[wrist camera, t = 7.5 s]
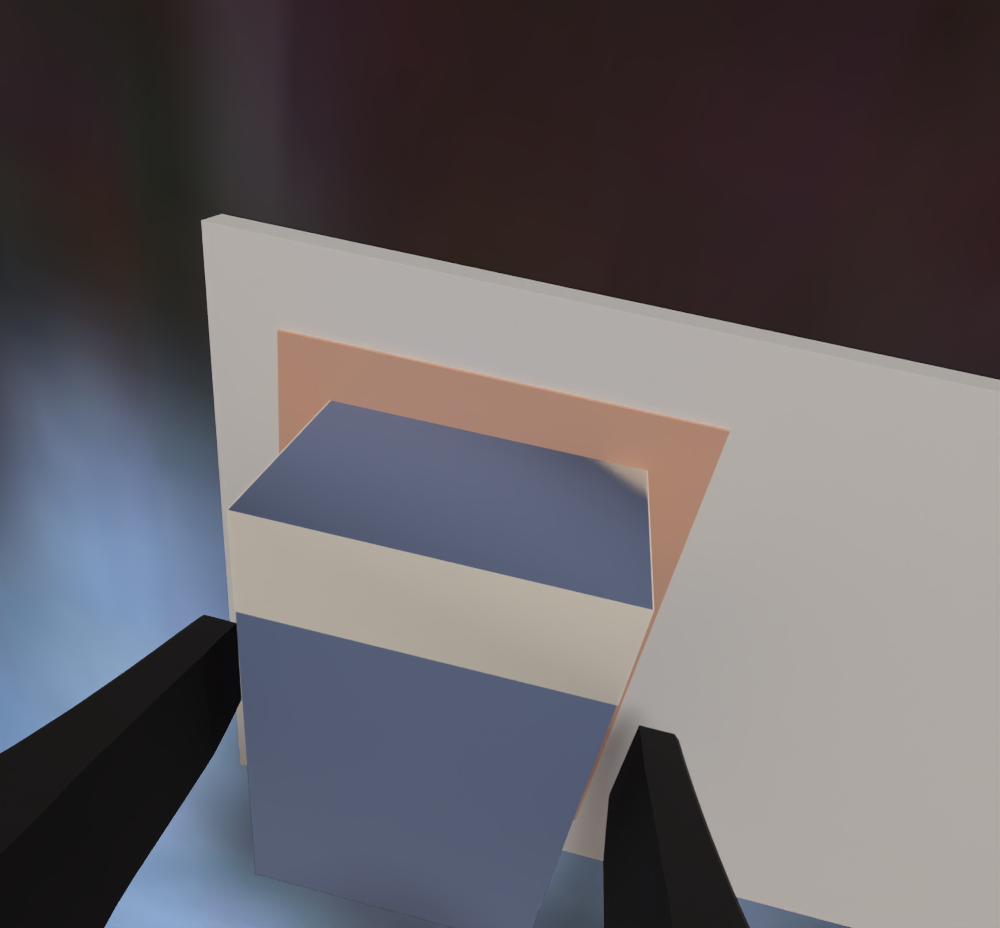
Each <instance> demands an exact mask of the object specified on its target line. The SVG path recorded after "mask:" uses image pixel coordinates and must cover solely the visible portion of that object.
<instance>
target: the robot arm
mask: <svg viewBox="0 0 1000 928" xmlns="http://www.w3.org/2000/svg"><path fill="white" fill-rule="evenodd" d="M241 700H242V698H241V682H240V667H239V651H238V636H237V623H234V622H230V621H226V620H222V619H219V618H215V617H211V616H207V615H203V616H201V617H200V618H198V619H197V620H195V621H194V622H192V623H191V624H190V625H188V626H187V627H186V628H184V629H183V630H181V631H180V632H179V633H177V634H176V635H175V636H173V637H172V638H171V639H169V640H168V641H167V642H165V643H164V644H162V645H161V646H160V647H158V648H157V649H156V650H154V651H153V652H152V653H150V654H149V655H147V656H146V657H145V658H143V659H142V660H140V661H139V662H138V663H136V664H135V665H134V666H132V667H131V668H129V669H128V670H127V671H125V672H124V673H122V674H121V675H119V676H118V677H117V678H115V679H114V680H112V681H111V682H109V683H108V684H107V685H105V686H104V687H102V688H101V689H99V690H98V691H96V692H95V693H94V694H92V695H91V696H89V697H88V698H86V699H85V700H83V701H82V702H80V703H79V704H78V705H76V706H75V707H73V708H72V709H70V710H69V711H67V712H65V713H64V714H62V715H61V716H59V717H58V718H56V719H54V720H53V721H51V722H50V723H48V724H47V725H45V726H44V727H42V728H40V729H39V730H37V731H36V732H34V733H33V734H31V735H30V736H28V737H26V738H25V739H23V740H22V741H20V742H19V743H17V744H15V745H14V746H12V747H10V748H9V749H7V750H5V751H4V752H2V753H0V928H104V927H105V925H106V923H107V922H108V920H109V918H110V916H111V914H112V912H113V911H114V909H115V907H116V906H117V904H118V902H119V901H120V899H121V897H122V896H123V894H124V892H125V891H126V889H127V887H128V886H129V884H130V883H131V881H132V879H133V878H134V876H135V875H136V873H137V872H138V870H139V869H140V867H141V866H142V864H143V863H144V861H145V860H146V858H147V856H148V855H149V853H150V852H151V850H152V849H153V847H154V846H155V844H156V843H157V841H158V840H159V838H160V837H161V835H162V834H163V832H164V831H165V829H166V828H167V826H168V824H169V823H170V821H171V820H172V818H173V817H174V815H175V814H176V812H177V811H178V809H179V808H180V806H181V805H182V803H183V802H184V800H185V799H186V797H187V795H188V794H189V792H190V791H191V789H192V788H193V786H194V785H195V783H196V782H197V780H198V778H199V777H200V775H201V774H202V772H203V771H204V769H205V768H206V766H207V764H208V763H209V761H210V760H211V758H212V757H213V755H214V753H215V751H216V749H217V747H218V745H219V744H220V742H221V740H222V738H223V736H224V734H225V732H226V730H227V728H228V726H229V724H230V722H231V720H232V718H233V716H234V714H235V712H236V710H237V708H238V706H239V704H240V702H241ZM603 870H604V928H750V927H749V925H748V923H747V921H746V918H745V916H744V914H743V912H742V909H741V907H740V905H739V902H738V900H737V898H736V895H735V893H734V891H733V888H732V886H731V884H730V881H729V879H728V876H727V874H726V871H725V869H724V866H723V864H722V861H721V859H720V856H719V854H718V851H717V849H716V846H715V844H714V841H713V839H712V836H711V833H710V831H709V828H708V826H707V823H706V820H705V817H704V815H703V812H702V809H701V806H700V803H699V801H698V798H697V795H696V792H695V789H694V786H693V783H692V780H691V777H690V774H689V771H688V768H687V765H686V762H685V759H684V756H683V752H682V749H681V746H680V742H679V740H678V738H677V737H676V735H675V734H672V733H668V732H664V731H660V730H656V729H652V728H648V727H645V726H641V725H639V726H638V729H637V731H636V733H635V736H634V738H633V740H632V743H631V745H630V747H629V750H628V752H627V754H626V757H625V759H624V761H623V764H622V766H621V768H620V771H619V773H618V775H617V778H616V780H615V782H614V785H613V787H612V789H611V792H610V794H609V800H608V811H607V822H606V833H605V845H604V858H603Z"/></svg>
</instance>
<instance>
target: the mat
mask: <svg viewBox="0 0 1000 928" xmlns="http://www.w3.org/2000/svg"><path fill="white" fill-rule="evenodd" d="M201 224H202V238H203V252H204V266H205V280H206V294H207V308H208V322H209V336H210V350H211V364H212V377H213V391H214V405H215V419H216V433H217V447H218V461H219V475H220V489H221V503H222V517H223V531H224V545H225V559H226V573H227V587H228V601H229V615H230V622H234V623H236V612H235V611H234V601H233V588H232V575H231V562H230V549H229V536H228V523H227V508H228V507H229V506H230V505H231V504H232V503H233V502H234V501H235V500H236V499H237V498H238V497H239V496H240V495H241V494H242V493H243V492H244V490H245V489H246V488H247V487H248V486H249V485H250V484H251V483H252V482H253V481H254V480H255V479H256V478H257V477H258V476H259V475H260V474H261V472H262V471H263V470H264V469H265V468H266V467H267V466H268V465H269V464H270V463H271V462H272V461H273V460H274V459H275V458H276V457H277V456H278V455H279V453H280V452H281V451H282V450H283V449H284V448H285V447H286V446H287V445H288V444H289V443H290V442H291V441H292V440H293V439H294V438H295V437H296V435H297V434H298V433H299V432H300V431H301V430H302V429H303V428H304V427H305V426H306V425H307V424H308V423H309V422H310V421H311V420H312V419H313V417H314V416H315V415H316V414H317V413H318V412H319V411H320V410H321V409H322V408H323V407H324V406H325V405H326V404H327V403H328V402H329V401H330V400H331V401H335V402H340V403H344V404H349V405H353V406H358V407H363V408H367V409H372V410H376V411H381V412H385V413H390V414H394V415H399V416H403V417H408V418H412V419H417V420H421V421H426V422H430V423H435V424H439V425H444V426H448V427H453V428H457V429H462V430H466V431H471V432H475V433H480V434H484V435H489V436H493V437H498V438H502V439H507V440H511V441H516V442H520V443H525V444H530V445H534V446H539V447H543V448H548V449H552V450H557V451H561V452H566V453H570V454H575V455H579V456H584V457H588V458H593V459H597V460H602V461H606V462H611V463H615V464H620V465H624V466H629V467H633V468H638V469H642V470H647V471H648V487H649V508H650V528H651V549H652V569H653V590H654V613H653V615H652V618H651V621H650V623H649V626H648V629H647V631H646V634H645V636H644V639H643V642H642V644H641V647H640V650H639V652H638V655H637V658H636V660H635V663H634V665H633V668H632V671H631V673H630V676H629V679H628V681H627V684H626V686H625V689H624V692H623V694H622V697H621V700H620V702H619V705H618V706H616V709H615V711H614V714H613V717H612V719H611V722H610V724H609V727H608V730H607V732H606V735H605V738H604V740H603V743H602V746H601V748H600V751H599V753H598V756H597V759H596V761H595V764H594V767H593V769H592V772H591V775H590V777H589V780H588V783H587V785H586V788H585V790H584V793H583V796H582V798H581V801H580V804H579V806H578V809H577V812H576V814H575V817H574V820H573V822H572V825H571V827H570V830H569V833H568V835H567V838H566V841H565V843H564V846H563V849H562V850H563V851H566V852H570V853H574V854H578V855H581V856H585V857H589V858H593V859H596V860H600V861H603V858H604V845H605V833H606V822H607V811H608V800H609V794H610V792H611V789H612V787H613V785H614V782H615V780H616V778H617V775H618V773H619V771H620V768H621V766H622V764H623V761H624V759H625V757H626V754H627V752H628V750H629V747H630V745H631V743H632V740H633V738H634V736H635V733H636V731H637V729H638V726H639V725H641V726H645V727H648V728H652V729H656V730H660V731H664V732H668V733H672V734H675V735H676V737H677V738H678V740H679V742H680V746H681V749H682V752H683V756H684V759H685V762H686V765H687V768H688V771H689V774H690V777H691V780H692V783H693V786H694V789H695V792H696V795H697V798H698V801H699V803H700V806H701V809H702V812H703V815H704V817H705V820H706V823H707V826H708V828H709V831H710V833H711V836H712V839H713V841H714V844H715V846H716V849H717V851H718V854H719V856H720V859H721V861H722V864H723V866H724V869H725V871H726V874H727V876H728V879H729V881H730V884H731V886H732V888H733V891H734V893H735V895H736V897H739V898H743V899H746V900H750V901H754V902H758V903H761V904H765V905H769V906H773V907H776V908H780V909H784V910H788V911H791V912H795V913H799V914H803V915H806V916H810V917H814V918H818V919H821V920H825V921H829V922H833V923H836V924H840V925H844V926H848V927H851V928H1000V380H997V379H993V378H988V377H983V376H979V375H974V374H969V373H964V372H960V371H955V370H950V369H946V368H941V367H936V366H932V365H927V364H922V363H918V362H913V361H908V360H904V359H899V358H894V357H890V356H885V355H880V354H875V353H871V352H866V351H861V350H857V349H852V348H847V347H843V346H838V345H833V344H829V343H824V342H819V341H815V340H810V339H805V338H801V337H796V336H791V335H786V334H782V333H777V332H772V331H768V330H763V329H758V328H754V327H749V326H744V325H740V324H735V323H730V322H726V321H721V320H716V319H712V318H707V317H702V316H697V315H693V314H688V313H683V312H679V311H674V310H669V309H665V308H660V307H655V306H651V305H646V304H641V303H637V302H632V301H627V300H623V299H618V298H613V297H608V296H604V295H599V294H594V293H590V292H585V291H580V290H576V289H571V288H566V287H562V286H557V285H552V284H548V283H543V282H538V281H534V280H529V279H524V278H519V277H515V276H510V275H505V274H501V273H496V272H491V271H487V270H482V269H477V268H473V267H468V266H463V265H459V264H454V263H449V262H445V261H440V260H435V259H430V258H426V257H421V256H416V255H412V254H407V253H402V252H398V251H393V250H388V249H384V248H379V247H374V246H370V245H365V244H360V243H356V242H351V241H346V240H341V239H337V238H332V237H327V236H323V235H318V234H313V233H309V232H304V231H299V230H295V229H290V228H285V227H281V226H276V225H271V224H267V223H262V222H257V221H252V220H248V219H243V218H238V217H234V216H229V215H224V214H220V215H217V216H214V217H211V218H207V219H204V220H201ZM238 651H239V650H238ZM239 667H240V663H239ZM240 682H241V676H240ZM241 698H242V689H241ZM236 712H237V726H238V740H239V754H240V765H244V766H247V756H246V743H245V729H244V716H243V703H242V700H241V702H240V704H239V706H238V708H237V710H236Z"/></svg>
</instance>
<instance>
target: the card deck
mask: <svg viewBox="0 0 1000 928" xmlns="http://www.w3.org/2000/svg"><path fill="white" fill-rule="evenodd" d="M227 523H228V536H229V549H230V562H231V575H232V588H233V601H234V611H235V612H236V623H237V636H238V650H239V663H240V676H241V689H242V703H243V716H244V729H245V743H246V756H247V769H248V782H249V796H250V809H251V822H252V836H253V849H254V862H255V874H258V875H261V876H265V877H269V878H272V879H276V880H280V881H283V882H287V883H291V884H294V885H298V886H302V887H305V888H309V889H313V890H316V891H320V892H324V893H327V894H331V895H335V896H338V897H342V898H346V899H349V900H353V901H357V902H360V903H364V904H368V905H371V906H375V907H379V908H382V909H386V910H390V911H393V912H397V913H401V914H404V915H408V916H412V917H415V918H419V919H423V920H426V921H430V922H434V923H437V924H441V925H445V926H448V927H452V928H533V925H534V923H535V920H536V917H537V915H538V912H539V909H540V907H541V904H542V901H543V899H544V896H545V893H546V891H547V888H548V886H549V883H550V880H551V878H552V875H553V872H554V870H555V867H556V864H557V862H558V859H559V857H560V854H561V851H562V849H563V846H564V843H565V841H566V838H567V835H568V833H569V830H570V827H571V825H572V822H573V820H574V817H575V814H576V812H577V809H578V806H579V804H580V801H581V798H582V796H583V793H584V790H585V788H586V785H587V783H588V780H589V777H590V775H591V772H592V769H593V767H594V764H595V761H596V759H597V756H598V753H599V751H600V748H601V746H602V743H603V740H604V738H605V735H606V732H607V730H608V727H609V724H610V722H611V719H612V717H613V714H614V711H615V709H616V706H618V705H619V702H620V700H621V697H622V694H623V692H624V689H625V686H626V684H627V681H628V679H629V676H630V673H631V671H632V668H633V665H634V663H635V660H636V658H637V655H638V652H639V650H640V647H641V644H642V642H643V639H644V636H645V634H646V631H647V629H648V626H649V623H650V621H651V618H652V615H653V613H654V590H653V569H652V549H651V528H650V508H649V487H648V471H647V470H642V469H638V468H633V467H629V466H624V465H620V464H615V463H611V462H606V461H602V460H597V459H593V458H588V457H584V456H579V455H575V454H570V453H566V452H561V451H557V450H552V449H548V448H543V447H539V446H534V445H530V444H525V443H520V442H516V441H511V440H507V439H502V438H498V437H493V436H489V435H484V434H480V433H475V432H471V431H466V430H462V429H457V428H453V427H448V426H444V425H439V424H435V423H430V422H426V421H421V420H417V419H412V418H408V417H403V416H399V415H394V414H390V413H385V412H381V411H376V410H372V409H367V408H363V407H358V406H353V405H349V404H344V403H340V402H335V401H331V400H330V401H329V402H328V403H327V404H326V405H325V406H324V407H323V408H322V409H321V410H320V411H319V412H318V413H317V414H316V415H315V416H314V417H313V419H312V420H311V421H310V422H309V423H308V424H307V425H306V426H305V427H304V428H303V429H302V430H301V431H300V432H299V433H298V434H297V435H296V437H295V438H294V439H293V440H292V441H291V442H290V443H289V444H288V445H287V446H286V447H285V448H284V449H283V450H282V451H281V452H280V453H279V455H278V456H277V457H276V458H275V459H274V460H273V461H272V462H271V463H270V464H269V465H268V466H267V467H266V468H265V469H264V470H263V471H262V472H261V474H260V475H259V476H258V477H257V478H256V479H255V480H254V481H253V482H252V483H251V484H250V485H249V486H248V487H247V488H246V489H245V490H244V492H243V493H242V494H241V495H240V496H239V497H238V498H237V499H236V500H235V501H234V502H233V503H232V504H231V505H230V506H229V507H228V508H227Z"/></svg>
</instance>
